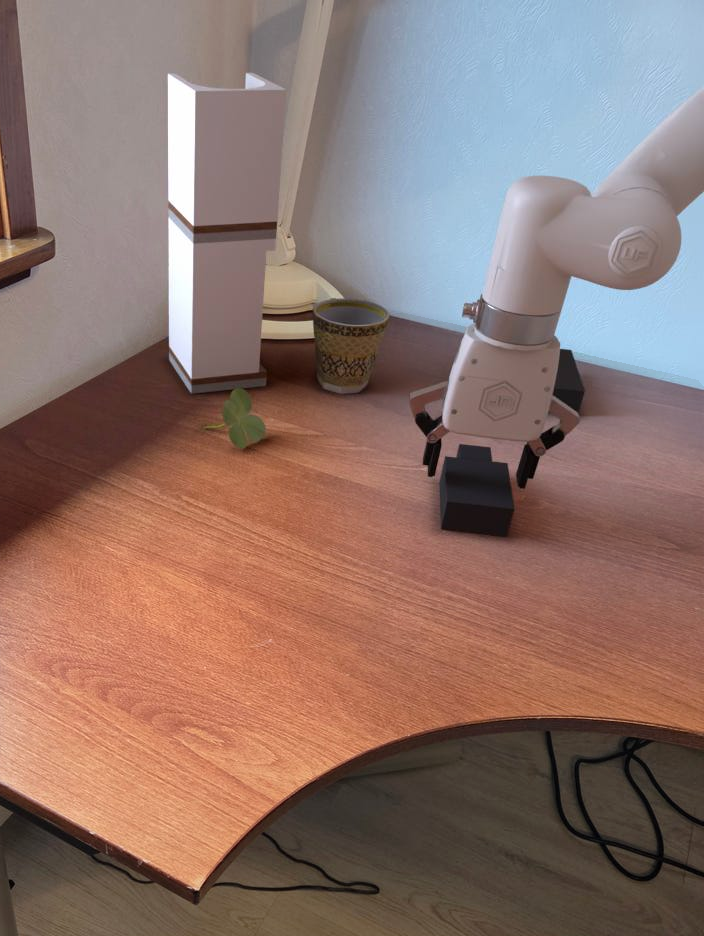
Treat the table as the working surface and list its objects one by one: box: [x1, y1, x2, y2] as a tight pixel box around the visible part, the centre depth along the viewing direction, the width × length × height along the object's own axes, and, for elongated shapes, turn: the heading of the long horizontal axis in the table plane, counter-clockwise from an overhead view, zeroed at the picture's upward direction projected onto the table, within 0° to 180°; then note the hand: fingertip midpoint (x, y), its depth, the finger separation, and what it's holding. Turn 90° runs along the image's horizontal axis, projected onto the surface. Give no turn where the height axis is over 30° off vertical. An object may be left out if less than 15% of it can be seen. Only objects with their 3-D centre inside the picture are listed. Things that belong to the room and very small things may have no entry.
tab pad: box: [438, 443, 515, 538], centre depth 100 cm, size 7×13×4 cm, turn 170°
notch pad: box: [548, 348, 586, 414], centre depth 124 cm, size 14×14×4 cm
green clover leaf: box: [203, 388, 267, 450], centre depth 111 cm, size 7×8×7 cm
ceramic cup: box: [312, 297, 390, 395], centre depth 122 cm, size 13×10×10 cm
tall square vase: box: [167, 72, 287, 395], centre depth 114 cm, size 11×11×35 cm
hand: (475, 476), depth 97 cm, fingers open, 9 cm apart
